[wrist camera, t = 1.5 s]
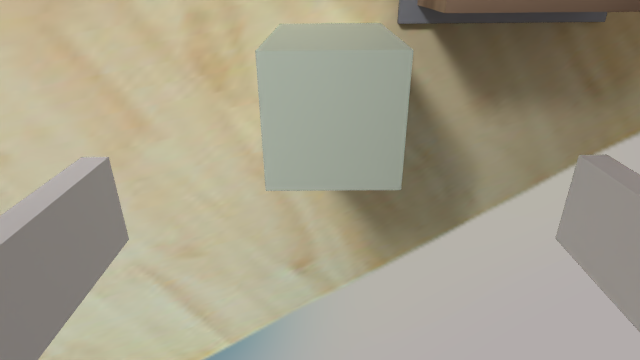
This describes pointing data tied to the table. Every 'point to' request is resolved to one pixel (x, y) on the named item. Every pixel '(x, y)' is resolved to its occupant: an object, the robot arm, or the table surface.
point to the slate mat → (488, 16)
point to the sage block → (333, 106)
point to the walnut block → (530, 6)
